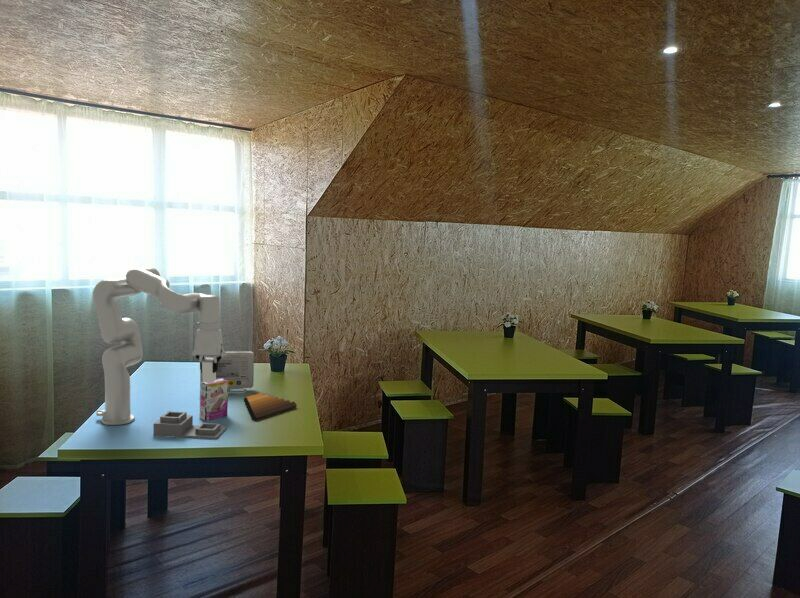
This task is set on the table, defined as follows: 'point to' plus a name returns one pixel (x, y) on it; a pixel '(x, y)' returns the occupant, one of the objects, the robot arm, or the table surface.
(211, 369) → the plug
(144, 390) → the table surface
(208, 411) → the candy bar box
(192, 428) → the stepped socket base
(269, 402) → the pan flute
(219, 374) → the network device
